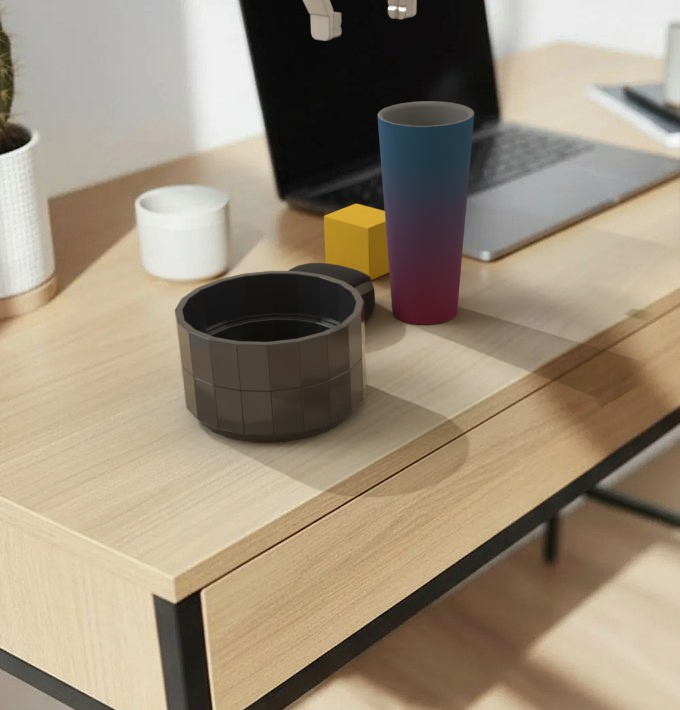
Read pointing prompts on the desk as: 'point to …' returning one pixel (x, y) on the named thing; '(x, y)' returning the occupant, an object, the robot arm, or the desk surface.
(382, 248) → the cube
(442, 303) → the cup
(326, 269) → the computer mouse
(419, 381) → the desk surface
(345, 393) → the bowl
